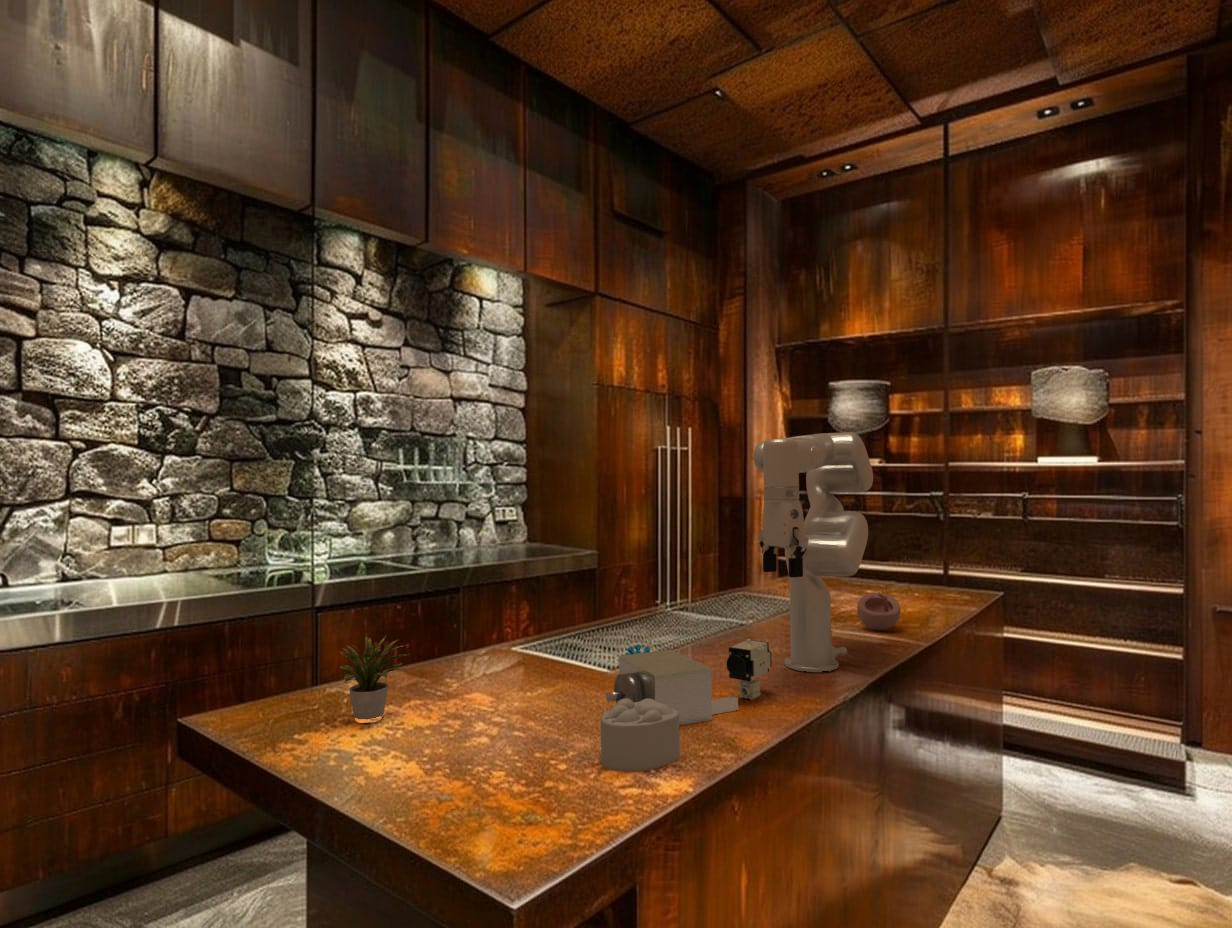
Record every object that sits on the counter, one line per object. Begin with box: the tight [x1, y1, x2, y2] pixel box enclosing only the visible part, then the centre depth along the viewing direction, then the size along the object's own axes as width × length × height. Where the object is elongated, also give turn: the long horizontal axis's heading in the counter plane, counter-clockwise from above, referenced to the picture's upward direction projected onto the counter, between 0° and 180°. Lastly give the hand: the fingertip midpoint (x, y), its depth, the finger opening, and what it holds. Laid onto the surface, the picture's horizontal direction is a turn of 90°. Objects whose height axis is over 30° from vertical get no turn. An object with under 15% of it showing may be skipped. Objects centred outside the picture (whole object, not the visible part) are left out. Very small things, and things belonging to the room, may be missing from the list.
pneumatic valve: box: [726, 638, 773, 701], centre depth 146 cm, size 6×12×12 cm, turn 142°
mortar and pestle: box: [857, 592, 901, 632], centre depth 209 cm, size 12×12×12 cm
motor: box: [605, 649, 739, 727], centre depth 138 cm, size 26×16×10 cm, turn 114°
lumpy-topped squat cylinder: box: [600, 698, 681, 773], centre depth 116 cm, size 10×13×9 cm
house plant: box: [335, 633, 411, 719], centre depth 135 cm, size 14×14×16 cm
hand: (782, 574), depth 153 cm, fingers open, 9 cm apart
